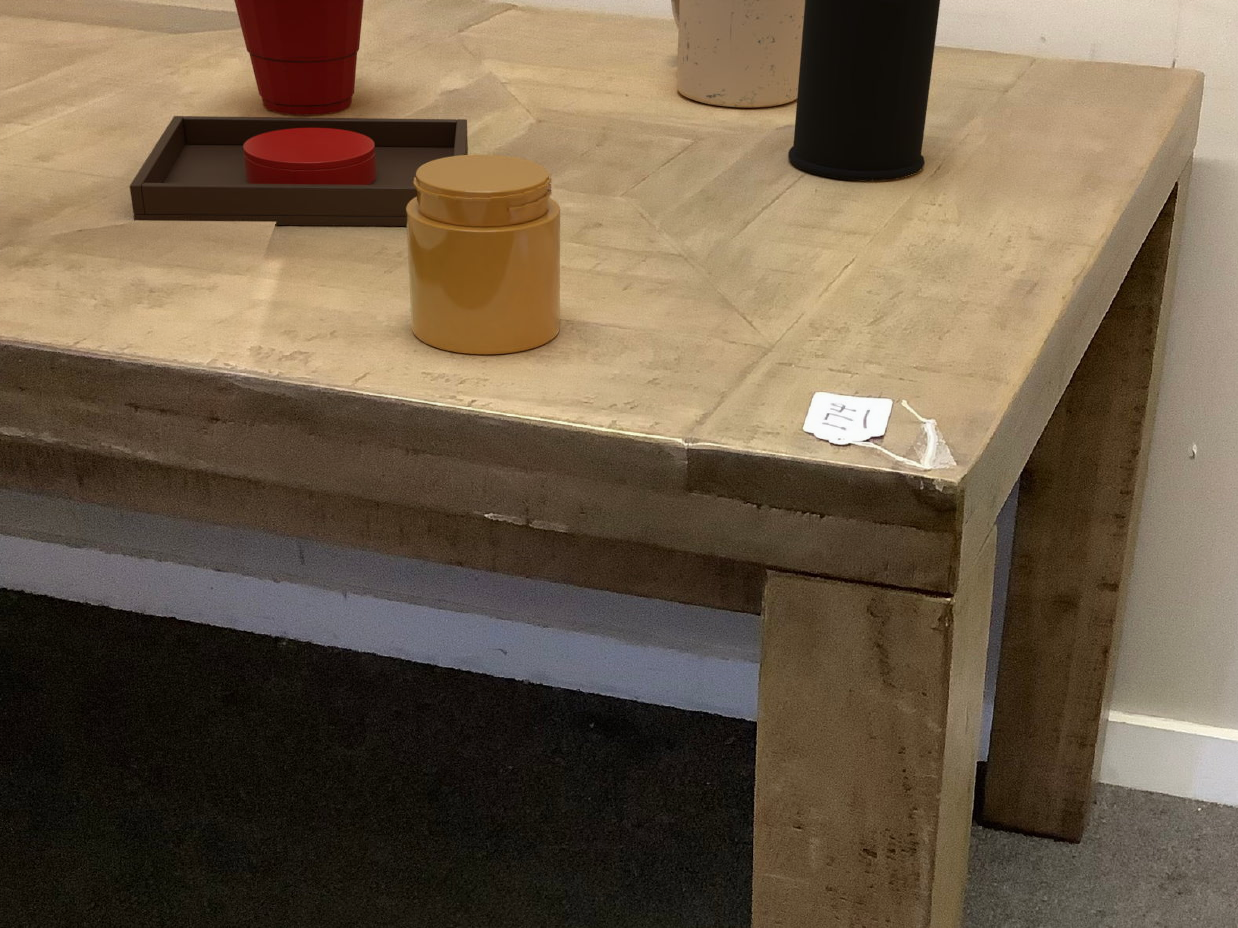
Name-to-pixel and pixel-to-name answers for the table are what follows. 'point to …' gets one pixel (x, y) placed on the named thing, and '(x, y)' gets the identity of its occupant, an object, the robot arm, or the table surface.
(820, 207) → the table surface
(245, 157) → the cap
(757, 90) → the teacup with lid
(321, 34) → the plastic cup
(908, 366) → the table surface
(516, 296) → the jar
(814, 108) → the aerosol can
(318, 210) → the tray
